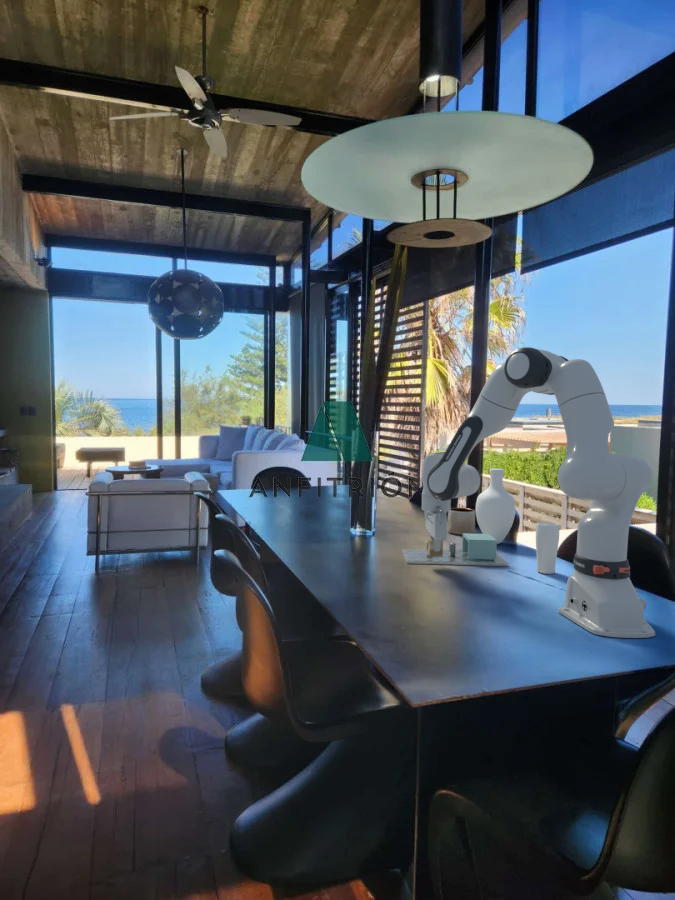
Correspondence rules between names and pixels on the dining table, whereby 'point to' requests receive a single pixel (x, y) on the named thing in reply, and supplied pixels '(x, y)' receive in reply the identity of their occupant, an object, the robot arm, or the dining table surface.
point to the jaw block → (431, 548)
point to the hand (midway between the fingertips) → (435, 549)
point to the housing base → (449, 558)
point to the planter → (461, 521)
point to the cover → (479, 546)
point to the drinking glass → (546, 546)
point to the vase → (495, 508)
